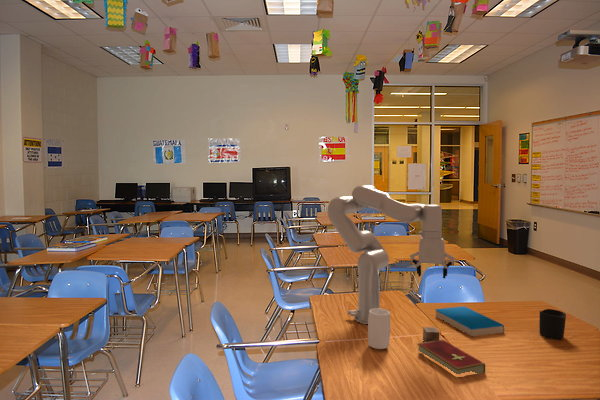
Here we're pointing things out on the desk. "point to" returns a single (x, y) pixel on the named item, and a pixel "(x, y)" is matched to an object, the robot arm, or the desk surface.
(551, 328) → the pen holder
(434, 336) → the walnut block
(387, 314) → the cup
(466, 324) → the book
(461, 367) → the hardcover book
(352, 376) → the desk surface
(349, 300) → the desk surface
